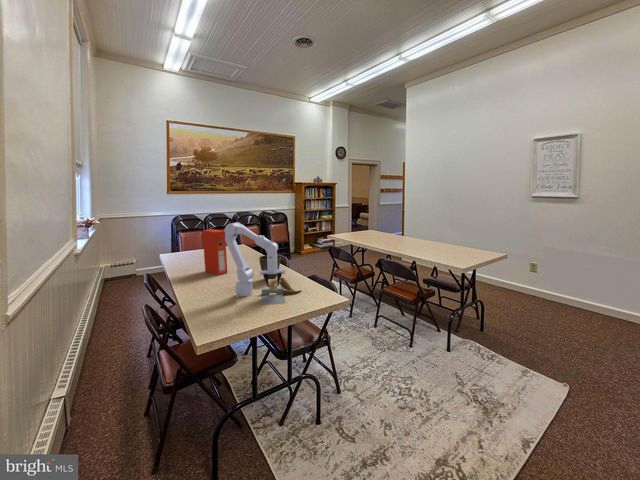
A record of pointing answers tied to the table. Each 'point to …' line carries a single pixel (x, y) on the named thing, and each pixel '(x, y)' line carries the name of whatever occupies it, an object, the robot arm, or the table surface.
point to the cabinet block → (272, 284)
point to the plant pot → (264, 265)
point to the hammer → (288, 288)
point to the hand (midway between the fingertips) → (272, 286)
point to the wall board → (273, 296)
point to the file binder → (215, 251)
